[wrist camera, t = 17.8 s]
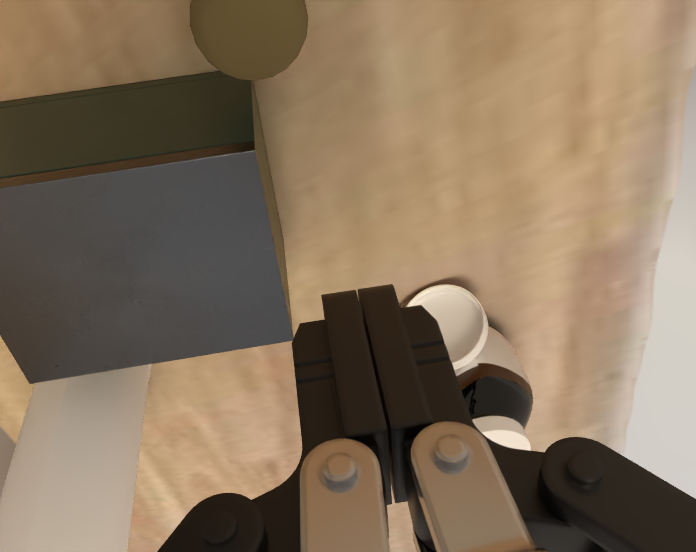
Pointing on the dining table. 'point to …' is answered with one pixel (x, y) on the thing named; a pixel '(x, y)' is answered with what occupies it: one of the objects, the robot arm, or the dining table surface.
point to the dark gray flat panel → (138, 263)
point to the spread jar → (482, 365)
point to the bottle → (76, 464)
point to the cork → (249, 34)
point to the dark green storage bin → (136, 128)
